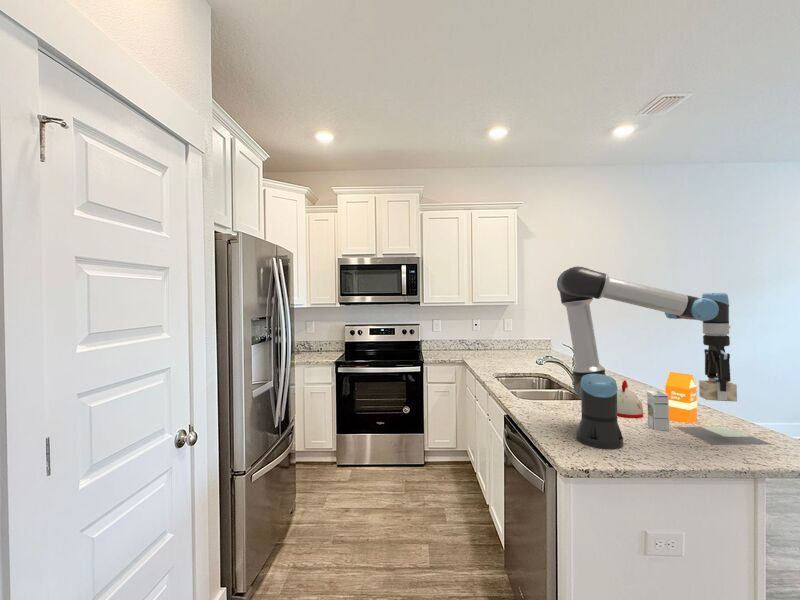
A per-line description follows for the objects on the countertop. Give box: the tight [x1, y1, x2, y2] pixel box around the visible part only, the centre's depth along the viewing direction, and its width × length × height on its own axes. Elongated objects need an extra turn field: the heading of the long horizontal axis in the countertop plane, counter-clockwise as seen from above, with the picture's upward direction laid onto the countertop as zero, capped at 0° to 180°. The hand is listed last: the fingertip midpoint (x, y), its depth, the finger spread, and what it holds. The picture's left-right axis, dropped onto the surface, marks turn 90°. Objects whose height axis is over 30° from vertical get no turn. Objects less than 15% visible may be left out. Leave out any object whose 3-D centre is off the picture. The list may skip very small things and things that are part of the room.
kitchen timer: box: [617, 379, 644, 419], centre depth 174 cm, size 14×14×15 cm
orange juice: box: [664, 371, 698, 424], centre depth 164 cm, size 8×9×20 cm
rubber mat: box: [673, 426, 772, 446], centre depth 144 cm, size 21×19×1 cm
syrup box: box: [646, 390, 671, 431], centre depth 153 cm, size 6×6×14 cm
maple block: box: [698, 380, 738, 403], centre depth 141 cm, size 9×6×6 cm, turn 72°
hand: (717, 397), depth 141 cm, fingers closed on maple block, 6 cm apart
